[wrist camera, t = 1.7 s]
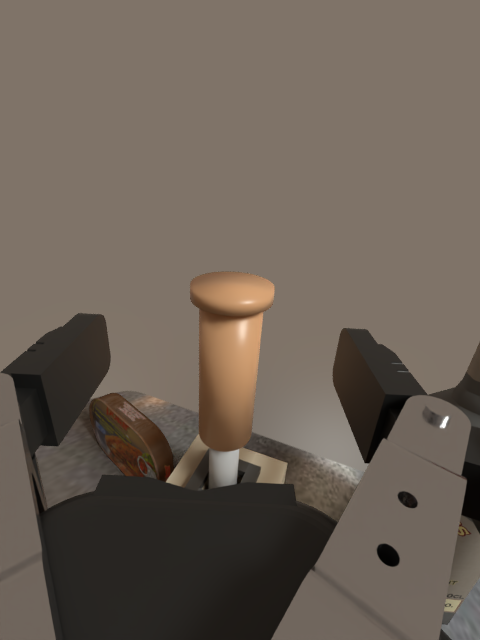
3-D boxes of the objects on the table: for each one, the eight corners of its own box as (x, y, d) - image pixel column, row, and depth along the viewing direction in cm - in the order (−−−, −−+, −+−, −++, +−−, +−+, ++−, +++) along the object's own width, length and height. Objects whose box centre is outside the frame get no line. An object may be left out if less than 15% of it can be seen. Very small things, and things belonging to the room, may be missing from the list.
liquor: (382, 503, 39) (477, 251, 26) (469, 569, 33) (651, 285, 20) (339, 557, 33) (433, 270, 20) (435, 649, 27) (659, 326, 14)
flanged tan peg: (180, 508, 30) (173, 290, 20) (208, 461, 34) (212, 267, 25) (238, 533, 28) (259, 307, 19) (259, 480, 33) (283, 279, 23)
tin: (91, 438, 45) (82, 389, 41) (112, 426, 47) (105, 378, 44) (157, 512, 36) (152, 457, 33) (179, 493, 38) (178, 440, 35)
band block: (150, 566, 31) (143, 506, 28) (199, 481, 40) (199, 427, 36) (248, 616, 28) (257, 557, 24) (279, 513, 37) (288, 457, 33)
